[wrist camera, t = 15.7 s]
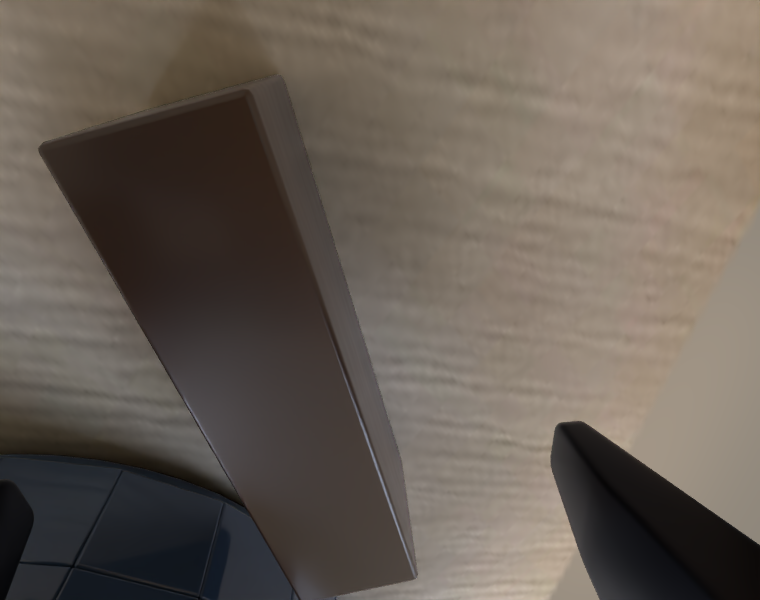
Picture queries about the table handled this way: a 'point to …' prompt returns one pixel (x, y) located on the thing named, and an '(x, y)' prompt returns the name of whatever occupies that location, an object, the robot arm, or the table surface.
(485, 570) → the table surface
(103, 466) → the bowl
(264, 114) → the dark brown block
